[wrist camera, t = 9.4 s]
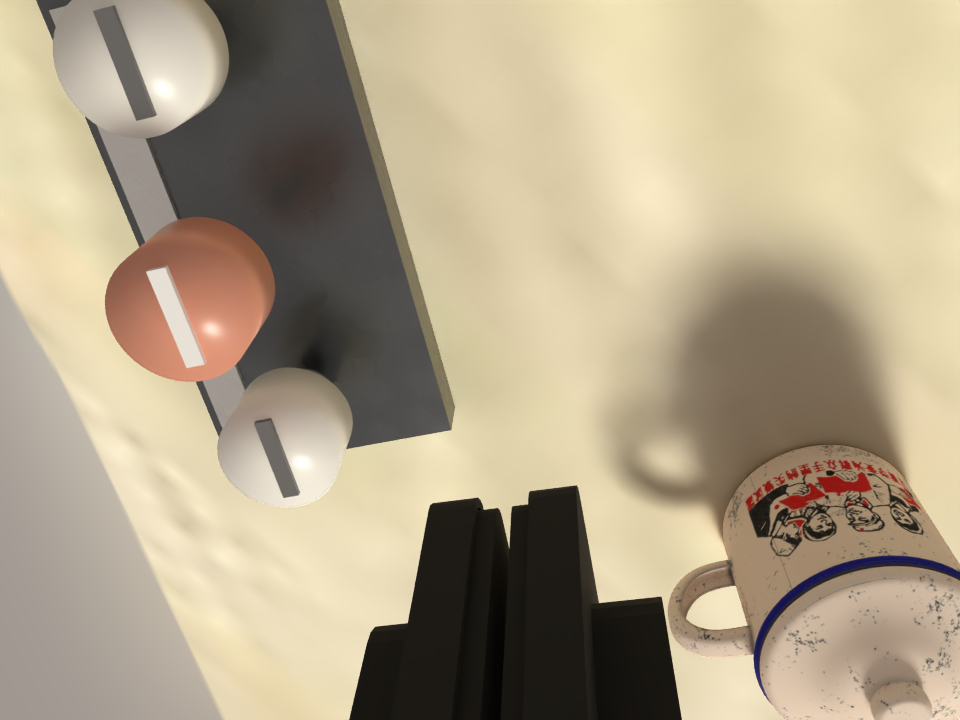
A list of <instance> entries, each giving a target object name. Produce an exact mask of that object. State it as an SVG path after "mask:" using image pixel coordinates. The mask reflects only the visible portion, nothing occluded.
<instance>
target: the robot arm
mask: <svg viewBox="0 0 960 720" xmlns="http://www.w3.org/2000/svg"><path fill="white" fill-rule="evenodd" d="M349 720H682V718H681V712H680V706H679V700H678V694H677V688H676V681H675V675H674V669H673V663H672V657H671V651H670V645H669V639H668V632H667V626H666V620H665V614H664V608H663V602H662V597H654V598H644V599H635V600H625V601H616V602H606V603H599V601H598V596H597V590H596V584H595V579H594V573H593V568H592V562H591V556H590V551H589V545H588V539H587V534H586V528H585V523H584V517H583V511H582V506H581V500H580V495H579V491H578V487H577V486H569V487H561V488H553V489H545V490H537V491H530V492H529V498H528V505H520V506H513V507H512V512H511V530H510V549H509V546H508V542H507V537H506V533H505V529H504V524H503V520H502V516H501V513H500V510H499V509H498V508H495V509H487V510H484V509H483V505H482V503H481V501H480V499H479V498H472V499H464V500H456V501H448V502H440V503H432V504H431V505H430V508H429V511H428V517H427V522H426V528H425V533H424V539H423V544H422V549H421V555H420V560H419V566H418V571H417V576H416V582H415V587H414V593H413V598H412V604H411V609H410V614H409V620H408V623H406V624H397V625H387V626H378V627H375V628H374V629H373V630H372V632H371V633H370V636H369V639H368V642H367V646H366V650H365V655H364V659H363V663H362V667H361V672H360V676H359V680H358V685H357V689H356V693H355V697H354V702H353V706H352V710H351V715H350V719H349Z"/></svg>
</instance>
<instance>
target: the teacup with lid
mask: <svg viewBox="0 0 960 720" xmlns="http://www.w3.org/2000/svg"><path fill="white" fill-rule="evenodd" d="M723 541H724V546H725V550H726V553H727V557H728V560H725V561H720V562H715V563H711V564H708V565H704V566H702V567H699V568H697V569H695V570H693V571H691V572H690V573H688V574H687V575H686V576H684V577H683V578H682V579H681V580H680V582H679V583H678V584H677V585H676V587H675V588H674V590H673V592H672V594H671V597H670V600H669V604H668V618H669V624H670V628H671V631H672V634H673V636H674V638H675V639H676V641H677V642H678V643H679V644H680V645H681V646H682V647H683V648H685V649H686V650H688V651H690V652H692V653H694V654H697V655H700V656H703V657H708V658H732V657H739V656H746V655H752V654H754V668H755V673H756V677H757V680H758V683H759V686H760V688H761V689H762V691H763V693H764V695H765V696H766V698H767V699H768V701H769V702H770V703H771V704H772V705H773V707H774V708H775V709H776V710H777V711H778V712H779V713H780V714H781V715H782V716H783V717H784V718H785V719H786V720H959V719H960V564H959V562H958V561H957V559H956V558H955V556H954V555H953V553H952V552H951V550H950V548H949V547H948V545H947V544H946V542H945V541H944V539H943V538H942V536H941V534H940V533H939V531H938V530H937V528H936V527H935V525H934V524H933V522H932V520H931V519H930V517H929V516H928V514H927V513H926V511H925V510H924V508H923V506H922V505H921V503H920V502H919V500H918V499H917V497H916V495H915V494H914V492H913V491H912V489H911V488H910V486H909V485H908V483H907V482H906V480H905V479H904V477H903V476H902V475H901V474H900V473H899V472H898V471H897V470H896V469H895V468H894V467H893V466H892V465H891V464H889V463H888V462H887V461H885V460H884V459H882V458H880V457H878V456H876V455H874V454H872V453H870V452H867V451H864V450H861V449H858V448H854V447H849V446H842V445H817V446H809V447H804V448H800V449H796V450H793V451H790V452H787V453H784V454H782V455H780V456H777V457H775V458H773V459H771V460H770V461H768V462H766V463H764V464H763V465H762V466H760V467H759V468H757V469H756V470H755V471H754V472H752V473H751V474H750V475H749V476H748V477H747V478H746V479H745V480H744V481H743V482H742V483H741V485H740V486H739V487H738V488H737V490H736V491H735V493H734V494H733V496H732V498H731V500H730V502H729V504H728V507H727V509H726V513H725V516H724V522H723ZM729 586H736V587H737V591H738V594H739V598H740V601H741V604H742V608H743V611H744V615H745V618H746V621H747V625H748V626H743V627H737V628H731V629H723V630H709V629H704V628H700V627H697V626H695V625H693V624H691V623H690V622H689V621H688V620H687V619H686V616H687V613H688V611H689V609H690V607H691V605H692V604H693V603H694V602H695V601H696V600H697V599H698V598H699V597H700V596H702V595H703V594H705V593H707V592H710V591H713V590H716V589H720V588H724V587H729Z"/></svg>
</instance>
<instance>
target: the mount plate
mask: <svg viewBox="0 0 960 720" xmlns="http://www.w3.org/2000/svg"><path fill="white" fill-rule="evenodd" d="M36 1H37V3H38V6H39V8H40V10H41V13H42V15H43V18H44V20H45V22H46V25H47V27H48V30H49V32H50V34H51V37H52V39H53V38H54V31H55V28H56V25H57V22H58V19H59V17H60V15H61V13H62V12H63V10H64V9H65V7H66V6H67V5H68V4H69V2H70V1H71V0H36ZM204 1H205V2H206V3H207V5H208V6H209V7H210V8H211V9H212V11H213V12H214V14H215V15H216V17H217V18H218V20H219V22H220V24H221V26H222V28H223V31H224V33H225V37H226V40H227V44H228V51H229V68H228V74H227V78H226V81H225V84H224V86H223V89H222V90H221V92H220V94H219V95H218V97H217V98H216V99H215V101H214V102H213V103H212V104H211V105H210V106H209V107H207V108H206V109H204V110H203V111H202V112H200V113H198V114H197V115H195V116H194V117H192V118H190V119H189V120H187V121H186V122H184V123H182V124H181V125H179V126H178V127H176V128H174V129H173V130H171V131H169V132H167V133H165V134H163V135H159V136H156V137H151V138H138V139H137V138H128V137H124V136H120V135H117V134H114V133H111V132H109V131H107V130H105V129H103V128H101V127H99V126H98V125H96V124H95V123H93V122H92V121H90V120H89V119H88V118H87V117H86V116H85V118H86V120H87V123H88V125H89V128H90V130H91V132H92V135H93V137H94V139H95V142H96V144H97V147H98V149H99V151H100V154H101V156H102V159H103V161H104V163H105V166H106V168H107V171H108V173H109V175H110V178H111V180H112V182H113V185H114V187H115V190H116V192H117V194H118V197H119V199H120V202H121V204H122V206H123V209H124V211H125V214H126V216H127V218H128V221H129V223H130V225H131V228H132V230H133V233H134V235H135V237H136V240H137V242H138V245H139V247H141V246H142V245H143V244H144V243H145V242H146V241H147V240H149V239H150V238H151V237H152V236H153V235H154V234H155V233H157V232H158V231H159V230H160V229H161V228H163V227H164V226H166V225H167V224H169V223H171V222H174V221H176V220H179V219H183V218H189V217H207V218H213V219H217V220H221V221H223V222H226V223H229V224H231V225H233V226H235V227H237V228H238V229H240V230H241V231H243V232H244V233H245V234H247V235H248V236H249V237H250V238H251V239H252V240H253V241H254V242H255V243H256V244H257V245H258V246H259V247H260V249H261V250H262V251H263V253H264V254H265V256H266V258H267V259H268V262H269V264H270V266H271V269H272V272H273V276H274V281H275V298H274V303H273V306H272V309H271V312H270V314H269V316H268V317H267V319H266V320H265V322H264V324H263V325H262V327H261V328H260V330H259V331H258V333H257V334H256V336H255V338H254V339H253V341H252V342H251V344H250V345H249V347H248V348H247V350H246V351H245V353H244V355H243V356H242V358H241V359H240V360H239V361H238V362H237V364H236V365H235V366H233V367H232V368H231V369H230V370H229V371H227V372H225V373H224V374H222V375H220V376H217V377H215V378H212V379H208V380H204V381H197V382H196V383H197V386H198V388H199V390H200V393H201V395H202V397H203V400H204V402H205V405H206V407H207V409H208V412H209V414H210V417H211V419H212V421H213V424H214V426H215V429H216V431H217V433H218V436H220V433H221V431H222V429H223V427H224V425H225V424H226V422H227V420H228V419H229V417H230V415H231V414H232V412H233V410H234V409H235V407H236V405H237V404H238V402H239V400H240V398H241V397H242V395H243V393H244V392H245V390H246V389H247V387H248V386H249V385H250V384H251V382H252V381H253V380H255V379H256V378H257V377H258V376H260V375H262V374H264V373H266V372H268V371H271V370H274V369H279V368H301V369H309V370H315V371H317V372H319V373H321V374H323V375H324V376H325V377H326V378H327V379H328V380H329V381H330V382H332V383H333V384H334V385H335V386H336V387H337V388H338V389H339V390H340V391H341V392H342V394H343V395H344V397H345V398H346V400H347V402H348V404H349V406H350V409H351V413H352V419H353V428H352V433H351V436H350V439H349V442H348V445H347V448H346V449H349V448H354V447H360V446H365V445H371V444H376V443H382V442H387V441H393V440H398V439H404V438H410V437H415V436H421V435H426V434H432V433H437V432H443V431H448V430H451V428H452V422H453V416H454V410H455V406H454V402H453V399H452V395H451V392H450V388H449V385H448V381H447V378H446V374H445V371H444V367H443V364H442V360H441V357H440V353H439V350H438V346H437V343H436V339H435V336H434V332H433V329H432V325H431V322H430V318H429V315H428V311H427V308H426V304H425V301H424V297H423V294H422V290H421V287H420V283H419V280H418V276H417V273H416V269H415V266H414V262H413V259H412V255H411V252H410V248H409V245H408V241H407V238H406V234H405V231H404V227H403V224H402V220H401V217H400V213H399V210H398V206H397V203H396V199H395V196H394V192H393V189H392V185H391V182H390V178H389V175H388V171H387V168H386V164H385V161H384V157H383V154H382V150H381V147H380V143H379V140H378V136H377V133H376V129H375V126H374V122H373V119H372V115H371V112H370V108H369V105H368V101H367V97H366V94H365V90H364V87H363V83H362V80H361V76H360V73H359V69H358V66H357V62H356V59H355V55H354V52H353V48H352V45H351V41H350V38H349V34H348V31H347V27H346V24H345V20H344V17H343V13H342V10H341V6H340V3H339V0H204Z"/></svg>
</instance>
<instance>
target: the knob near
mask: <svg viewBox="0 0 960 720" xmlns="http://www.w3.org/2000/svg"><path fill="white" fill-rule="evenodd" d="M53 57H54V63H55V68H56V72H57V74H58V77H59V80H60V82H61V84H62V86H63V89H64V91H65V92H66V94H67V95H68V97H69V98H70V100H71V101H72V102H73V104H74V105H75V106H76V108H77V109H78V110H79V111H80V112H81V113H82V114H83V115H84V116H86V117H87V118H88V119H89V120H90V121H92V122H93V123H95V124H96V125H98V126H99V127H101V128H103V129H105V130H107V131H109V132H111V133H114V134H117V135H120V136H124V137H128V138H137V139H138V138H151V137H156V136H159V135H163V134H165V133H167V132H169V131H171V130H173V129H174V128H176V127H178V126H179V125H181V124H182V123H184V122H186V121H187V120H189V119H190V118H192V117H194V116H195V115H197V114H198V113H200V112H202V111H203V110H204V109H206V108H207V107H209V106H210V105H211V104H212V103H213V102H214V101H215V99H216V98H217V97H218V95H219V94H220V92H221V90H222V89H223V86H224V84H225V81H226V78H227V74H228V68H229V51H228V44H227V40H226V37H225V33H224V31H223V28H222V26H221V24H220V22H219V20H218V18H217V17H216V15H215V14H214V12H213V11H212V9H211V8H210V7H209V6H208V5H207V3H206V2H205V1H204V0H71V1H70V2H69V4H68V5H67V6H66V7H65V9H64V10H63V12H62V13H61V15H60V17H59V19H58V22H57V25H56V28H55V31H54V38H53Z"/></svg>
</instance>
